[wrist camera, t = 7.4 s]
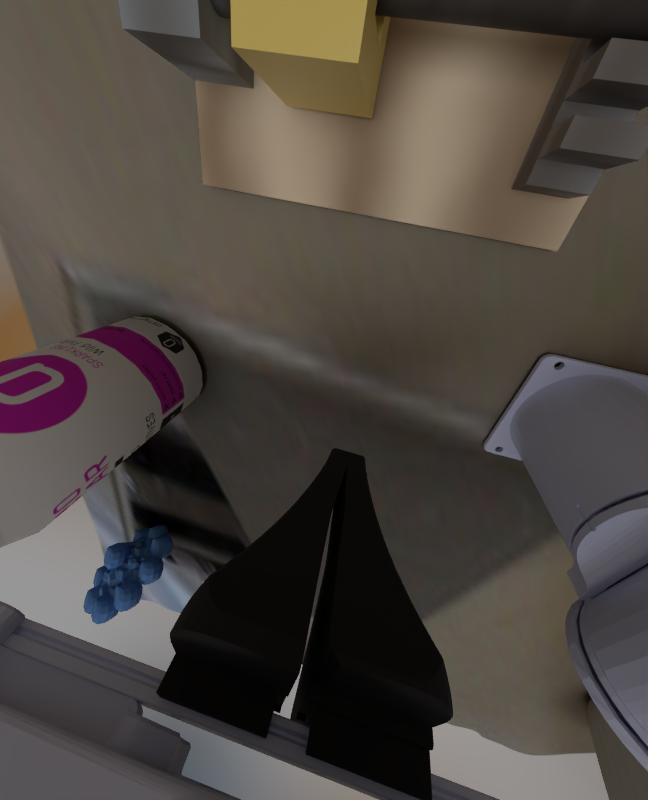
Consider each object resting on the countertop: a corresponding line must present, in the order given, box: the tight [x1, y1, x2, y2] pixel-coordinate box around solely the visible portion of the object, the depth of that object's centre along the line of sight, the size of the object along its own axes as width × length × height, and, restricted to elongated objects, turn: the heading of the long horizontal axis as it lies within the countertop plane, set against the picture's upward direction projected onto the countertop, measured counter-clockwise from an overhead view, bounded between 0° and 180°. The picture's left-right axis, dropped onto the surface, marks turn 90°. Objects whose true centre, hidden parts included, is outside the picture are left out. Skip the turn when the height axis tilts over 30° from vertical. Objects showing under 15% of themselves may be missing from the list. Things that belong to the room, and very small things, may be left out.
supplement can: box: [0, 316, 203, 547], centre depth 18 cm, size 8×8×15 cm
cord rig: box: [118, 0, 648, 251], centre depth 10 cm, size 19×12×5 cm, turn 81°
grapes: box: [84, 525, 173, 624], centre depth 35 cm, size 12×7×12 cm, turn 115°
